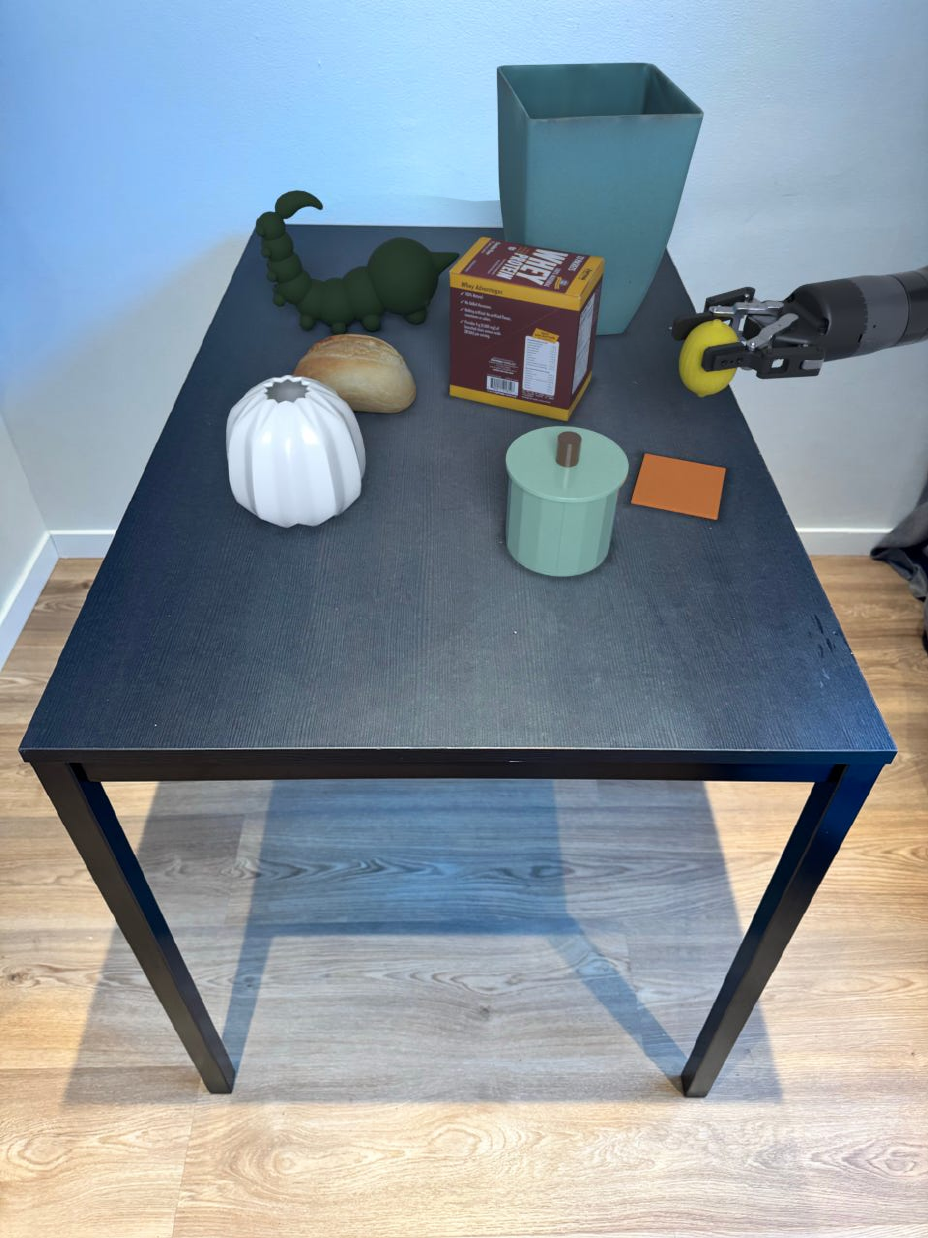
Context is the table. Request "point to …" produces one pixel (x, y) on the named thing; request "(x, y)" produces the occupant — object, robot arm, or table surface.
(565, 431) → the pot lid
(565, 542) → the pot
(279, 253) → the toy figurine
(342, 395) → the bread roll
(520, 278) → the supplement box
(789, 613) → the table surface
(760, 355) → the robot arm
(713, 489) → the orange square coaster
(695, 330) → the lemon
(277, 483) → the vase
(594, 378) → the table surface
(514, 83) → the flower pot
